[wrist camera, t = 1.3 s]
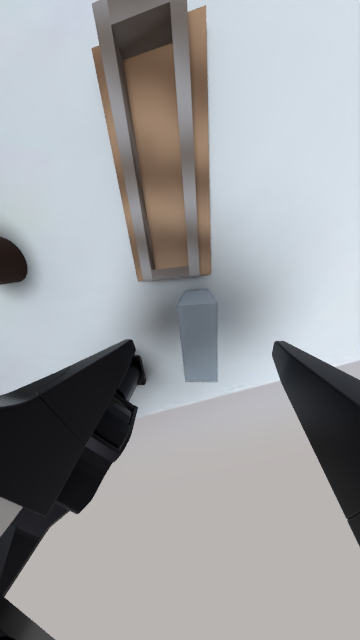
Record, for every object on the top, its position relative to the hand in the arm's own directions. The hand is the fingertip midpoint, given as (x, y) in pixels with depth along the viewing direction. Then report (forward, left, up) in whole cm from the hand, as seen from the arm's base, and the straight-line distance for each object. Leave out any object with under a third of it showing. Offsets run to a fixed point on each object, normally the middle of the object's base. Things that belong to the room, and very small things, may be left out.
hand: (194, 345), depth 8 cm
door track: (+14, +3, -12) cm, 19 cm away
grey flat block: (-2, 0, -12) cm, 12 cm away
